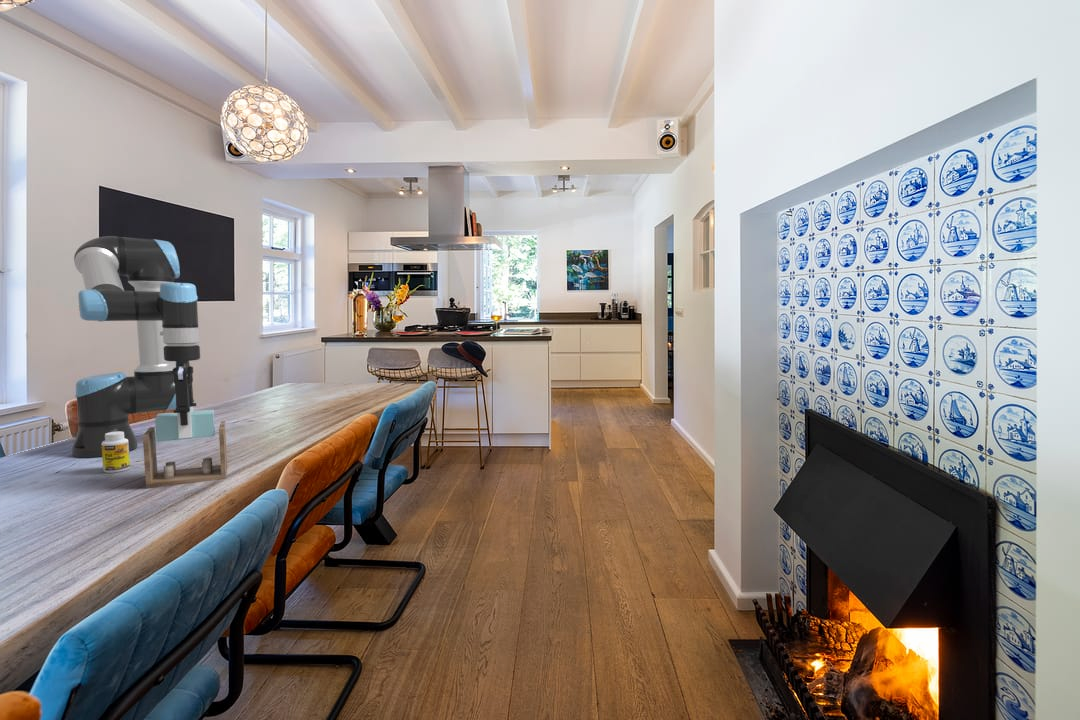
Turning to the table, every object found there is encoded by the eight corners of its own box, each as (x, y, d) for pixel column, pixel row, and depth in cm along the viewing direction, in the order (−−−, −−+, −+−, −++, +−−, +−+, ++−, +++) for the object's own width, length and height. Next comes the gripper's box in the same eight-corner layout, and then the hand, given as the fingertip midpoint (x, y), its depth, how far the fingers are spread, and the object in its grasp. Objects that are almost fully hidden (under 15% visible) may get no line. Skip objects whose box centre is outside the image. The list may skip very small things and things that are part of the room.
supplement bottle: (101, 474, 134) (99, 436, 133) (105, 469, 139) (102, 432, 138) (129, 471, 137) (126, 433, 136) (131, 466, 142) (128, 429, 141)
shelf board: (159, 436, 131) (158, 413, 131) (214, 431, 137) (213, 409, 137) (156, 442, 126) (154, 417, 125) (214, 436, 132) (213, 413, 132)
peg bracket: (153, 476, 133) (149, 427, 132) (227, 467, 141) (225, 421, 140) (146, 488, 124) (142, 435, 123) (225, 478, 132) (223, 428, 131)
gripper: (168, 343, 136) (173, 428, 138) (157, 347, 119) (163, 445, 121) (202, 342, 140) (207, 426, 142) (196, 346, 123) (201, 441, 125)
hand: (187, 434), depth 132 cm, fingers closed on shelf board, 6 cm apart
